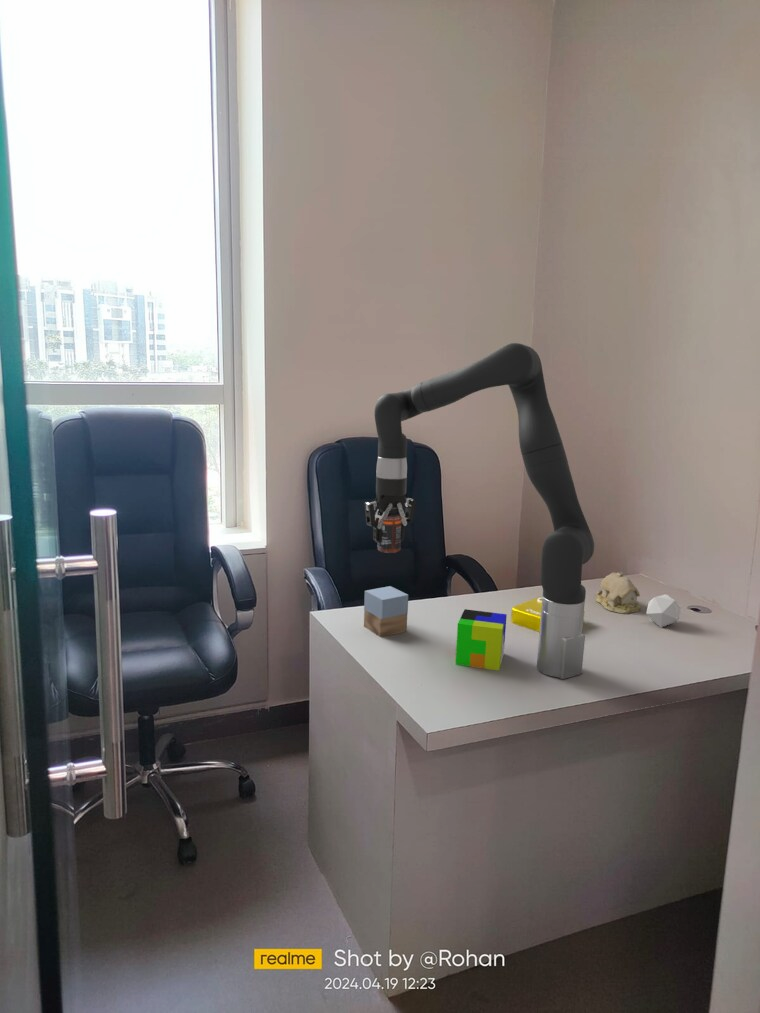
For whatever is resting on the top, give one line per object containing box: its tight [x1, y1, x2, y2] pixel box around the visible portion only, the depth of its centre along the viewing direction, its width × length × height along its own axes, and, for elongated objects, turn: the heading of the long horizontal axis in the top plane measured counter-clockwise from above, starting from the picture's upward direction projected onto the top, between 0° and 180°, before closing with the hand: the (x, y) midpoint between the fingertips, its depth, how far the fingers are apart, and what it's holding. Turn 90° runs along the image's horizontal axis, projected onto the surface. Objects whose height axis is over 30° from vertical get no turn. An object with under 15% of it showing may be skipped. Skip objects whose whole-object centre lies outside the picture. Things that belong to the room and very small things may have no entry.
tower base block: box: [363, 609, 408, 638], centre depth 186 cm, size 8×8×5 cm
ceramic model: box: [595, 571, 641, 614], centre depth 209 cm, size 14×11×10 cm
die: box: [645, 593, 682, 628], centre depth 195 cm, size 8×9×10 cm
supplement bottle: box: [376, 507, 402, 554], centre depth 181 cm, size 6×6×11 cm
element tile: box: [510, 596, 586, 633], centre depth 194 cm, size 15×15×5 cm
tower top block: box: [363, 585, 409, 619], centre depth 185 cm, size 8×8×5 cm
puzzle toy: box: [455, 608, 507, 671], centre depth 169 cm, size 10×10×10 cm
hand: (389, 540), depth 181 cm, fingers closed on supplement bottle, 6 cm apart
